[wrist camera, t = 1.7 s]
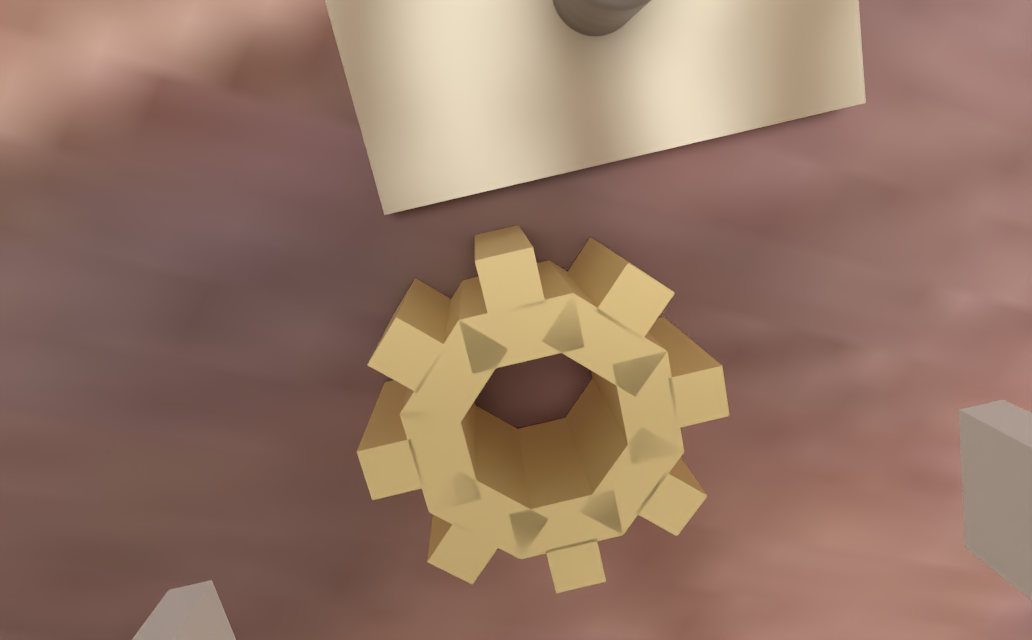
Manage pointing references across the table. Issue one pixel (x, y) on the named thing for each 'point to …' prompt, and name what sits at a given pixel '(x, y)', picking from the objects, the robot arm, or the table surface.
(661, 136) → the board
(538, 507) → the gear
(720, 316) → the table surface
